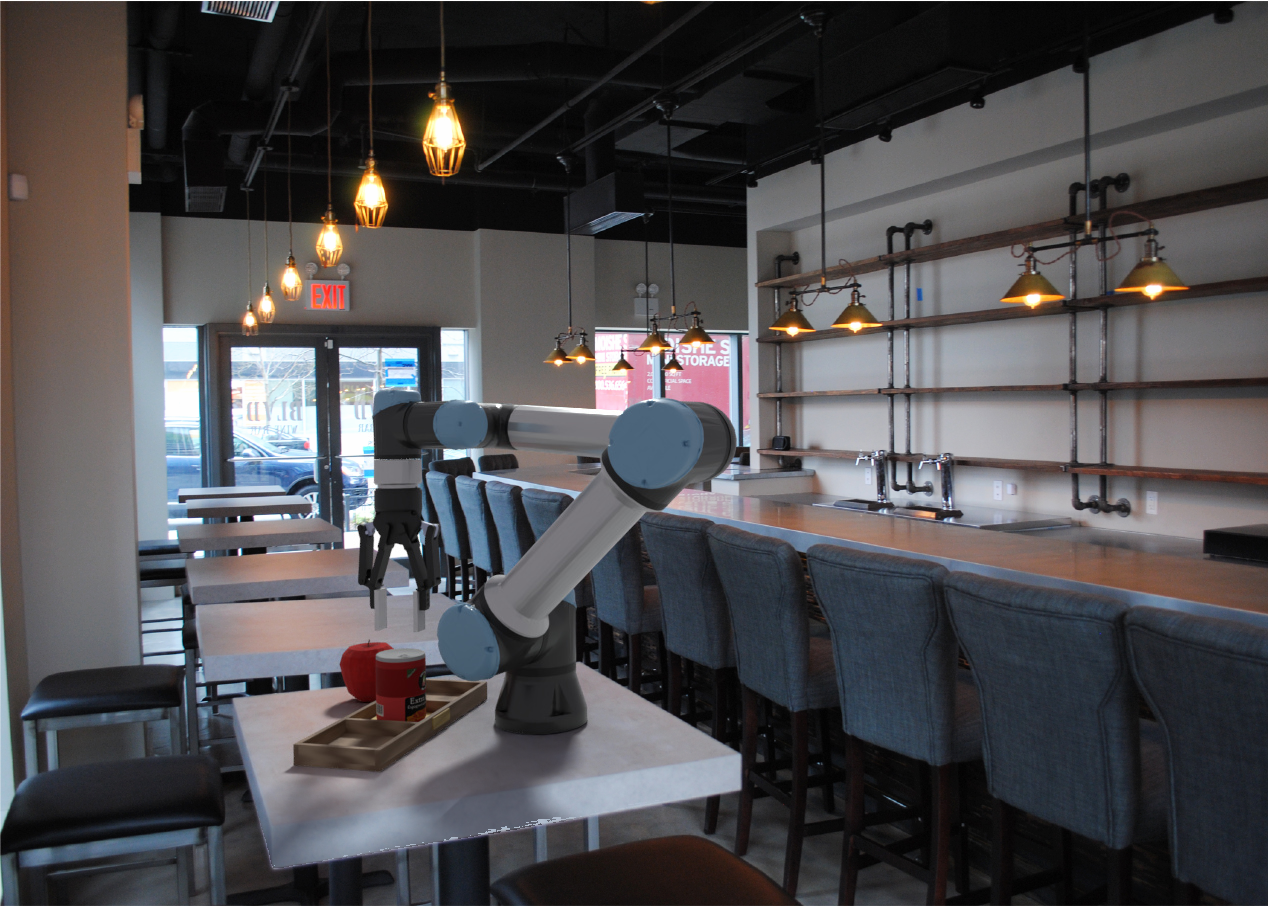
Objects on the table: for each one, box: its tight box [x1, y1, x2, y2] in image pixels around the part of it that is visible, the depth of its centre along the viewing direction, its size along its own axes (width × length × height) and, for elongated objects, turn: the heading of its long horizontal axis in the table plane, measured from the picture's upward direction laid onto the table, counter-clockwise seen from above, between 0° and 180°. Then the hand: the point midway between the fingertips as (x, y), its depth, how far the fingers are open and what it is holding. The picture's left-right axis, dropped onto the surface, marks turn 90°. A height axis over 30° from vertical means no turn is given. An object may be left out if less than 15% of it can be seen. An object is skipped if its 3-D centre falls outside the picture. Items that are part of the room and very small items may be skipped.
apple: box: [339, 639, 395, 703], centre depth 172 cm, size 10×10×11 cm
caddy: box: [292, 678, 488, 773], centre depth 154 cm, size 14×39×3 cm, turn 167°
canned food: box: [376, 647, 427, 722], centre depth 154 cm, size 8×8×11 cm
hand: (400, 629), depth 154 cm, fingers open, 6 cm apart
